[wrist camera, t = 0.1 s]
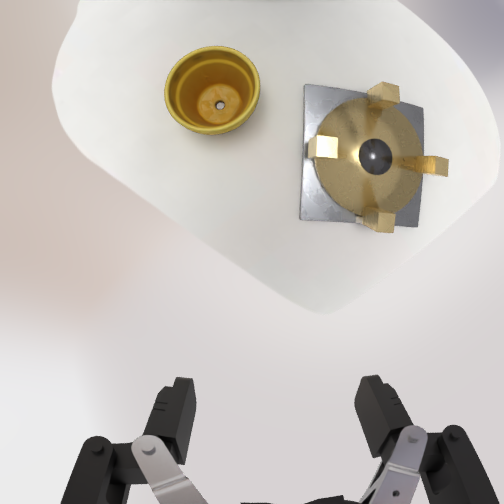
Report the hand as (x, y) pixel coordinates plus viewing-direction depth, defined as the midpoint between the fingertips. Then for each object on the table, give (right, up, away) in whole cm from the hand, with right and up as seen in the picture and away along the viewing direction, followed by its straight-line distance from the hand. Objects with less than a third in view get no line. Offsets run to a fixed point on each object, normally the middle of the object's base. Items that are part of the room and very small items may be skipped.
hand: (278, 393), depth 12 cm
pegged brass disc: (+15, +20, +23) cm, 34 cm away
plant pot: (-6, +27, +23) cm, 35 cm away
